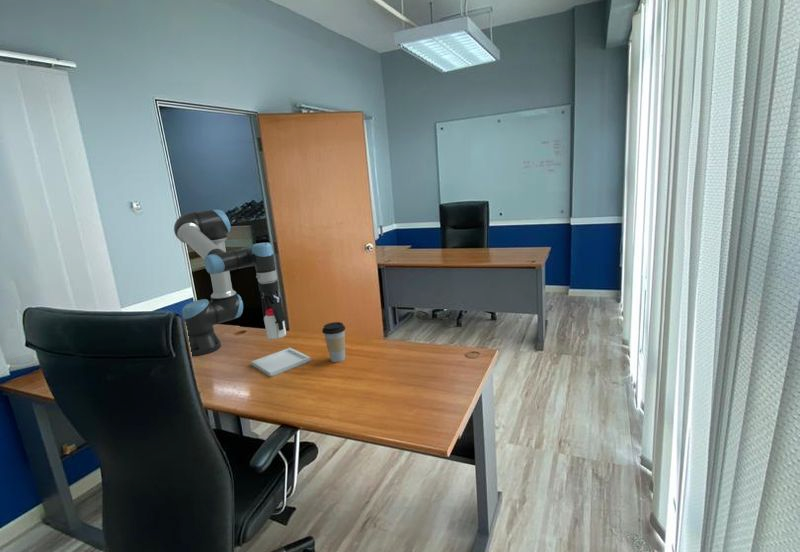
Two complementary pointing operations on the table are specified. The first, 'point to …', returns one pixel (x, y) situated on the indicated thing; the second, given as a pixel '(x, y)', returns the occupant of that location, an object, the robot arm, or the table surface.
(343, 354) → the coffee cup
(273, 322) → the pill bottle
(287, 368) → the tray
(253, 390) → the table surface
